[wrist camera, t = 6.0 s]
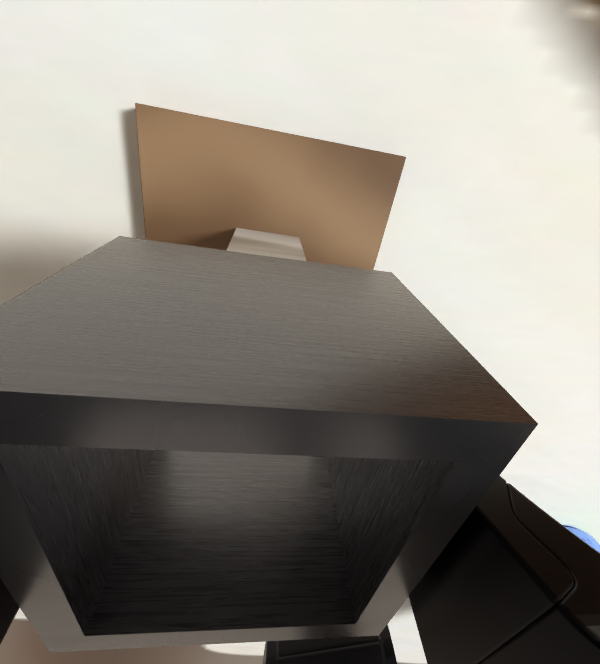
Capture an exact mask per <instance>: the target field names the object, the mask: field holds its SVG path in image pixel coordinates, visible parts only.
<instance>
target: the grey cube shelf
mask: <svg viewBox="0 0 600 664" xmlns="http://www.w3.org/2000/svg"><path fill="white" fill-rule="evenodd" d="M537 425H538V423H537V422H536V421H535V420H534V419H533V418H532V417H531V416H530V415H529V414H528V413H527V412H526V411H525V410H524V409H523V408H522V407H521V406H520V405H519V404H518V403H517V402H516V401H515V399H514V398H513V397H512V396H511V395H510V394H509V393H508V392H507V391H506V390H505V389H504V388H503V387H502V386H501V385H500V384H499V383H498V382H497V381H496V380H495V379H494V378H493V377H492V376H491V375H490V374H489V373H488V372H487V371H486V369H485V368H484V367H483V366H482V365H481V364H480V363H479V362H478V361H477V360H476V359H475V358H474V357H473V356H472V355H471V354H470V353H469V352H468V351H467V350H466V349H465V348H464V347H463V346H462V345H461V344H460V343H459V342H458V341H457V339H456V338H455V337H454V336H453V335H452V334H451V333H450V332H449V331H448V330H447V329H446V328H445V327H444V326H443V325H442V324H441V323H440V322H439V321H438V320H437V319H436V318H435V317H434V316H433V315H432V314H431V313H430V312H429V311H428V309H427V308H426V307H425V306H424V305H423V304H422V303H421V302H420V301H419V300H418V299H417V298H416V297H415V296H414V295H413V294H412V293H411V292H410V291H409V290H408V289H407V288H406V287H405V286H404V285H403V284H402V283H401V282H400V281H399V279H398V278H397V277H396V276H395V275H394V274H393V273H391V272H383V271H376V270H368V269H361V268H354V267H346V266H339V265H331V264H324V263H316V262H309V261H301V260H294V259H286V258H279V257H271V256H264V255H256V254H249V253H241V252H234V251H226V250H219V249H211V248H204V247H197V246H189V245H182V244H174V243H167V242H159V241H152V240H144V239H137V238H129V237H122V236H119V237H117V238H116V239H114V240H112V241H110V242H109V243H107V244H105V245H104V246H102V247H100V248H98V249H97V250H95V251H93V252H92V253H90V254H88V255H87V256H85V257H83V258H81V259H80V260H78V261H76V262H75V263H73V264H71V265H69V266H68V267H66V268H64V269H63V270H61V271H59V272H57V273H56V274H54V275H52V276H51V277H49V278H47V279H46V280H44V281H42V282H40V283H39V284H37V285H35V286H34V287H32V288H30V289H28V290H27V291H25V292H23V293H22V294H20V295H18V296H17V297H15V298H13V299H11V300H10V301H8V302H6V303H5V304H3V305H1V306H0V579H1V580H2V582H3V583H4V585H5V586H6V588H7V589H8V591H9V592H10V593H11V595H12V596H13V598H14V599H15V601H16V602H17V604H18V605H19V607H20V608H21V610H22V611H23V613H24V614H25V616H26V617H27V619H28V620H29V622H30V623H31V625H32V626H33V628H34V629H35V630H36V632H37V634H38V635H39V637H40V638H41V639H42V641H43V643H44V644H45V645H46V647H47V648H48V650H49V652H63V651H85V650H105V649H124V648H144V647H164V646H181V645H182V646H183V645H203V644H222V643H242V642H262V641H281V640H301V639H321V638H340V637H360V636H379V634H380V633H381V632H382V630H383V629H384V628H385V627H386V625H387V624H388V623H389V621H390V620H391V619H392V617H393V616H394V615H395V613H396V612H397V611H398V609H399V608H400V607H401V605H402V604H403V603H404V601H405V600H406V599H407V597H408V596H409V595H410V593H411V592H412V591H413V589H414V588H415V587H416V585H417V584H418V583H419V581H420V580H421V579H422V577H423V576H424V575H425V573H426V572H427V571H428V569H429V568H430V567H431V565H432V564H433V563H434V561H435V560H436V559H437V557H438V556H439V555H440V553H441V552H442V551H443V549H444V548H445V547H446V545H447V544H448V543H449V541H450V540H451V539H452V538H453V536H454V535H455V534H456V532H457V531H458V530H459V528H460V527H461V526H462V524H463V523H464V522H465V520H466V519H467V518H468V516H469V515H470V514H471V512H472V511H473V510H474V508H475V507H476V506H477V504H478V503H479V502H480V500H481V499H482V498H483V496H484V495H485V494H486V492H487V491H488V490H489V488H490V487H491V486H492V484H493V483H494V482H495V480H496V479H497V478H498V476H499V475H500V474H501V472H502V471H503V470H504V468H505V467H506V466H507V464H508V463H509V462H510V460H511V459H512V458H513V456H514V455H515V454H516V452H517V451H518V450H519V448H520V447H521V446H522V445H523V443H524V442H525V441H526V439H527V438H528V437H529V435H530V434H531V433H532V431H533V430H534V429H535V427H536V426H537Z"/></svg>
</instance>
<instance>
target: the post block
mask: <svg viewBox="0 0 600 664" xmlns="http://www.w3.org/2000/svg"><path fill="white" fill-rule="evenodd" d="M135 106H136V119H137V132H138V145H139V158H140V170H141V183H142V196H143V209H144V221H145V234H146V240H152V241H159V242H167V243H174V244H182V245H189V246H197V247H204V248H211V249H219V250H226V251H234V252H241V253H249V254H256V255H264V256H271V257H279V258H286V259H294V260H301V261H309V262H316V263H324V264H331V265H339V266H346V267H354V268H361V269H368V270H373V269H374V266H375V262H376V259H377V255H378V252H379V248H380V245H381V241H382V238H383V235H384V231H385V228H386V224H387V221H388V217H389V214H390V211H391V207H392V204H393V200H394V197H395V193H396V190H397V187H398V183H399V180H400V176H401V173H402V169H403V166H404V163H405V159H406V157H404V156H399V155H394V154H389V153H384V152H379V151H374V150H369V149H364V148H359V147H354V146H349V145H344V144H339V143H334V142H329V141H324V140H319V139H314V138H309V137H303V136H298V135H293V134H288V133H283V132H278V131H273V130H268V129H263V128H258V127H253V126H248V125H243V124H238V123H233V122H228V121H223V120H218V119H213V118H208V117H203V116H198V115H193V114H188V113H183V112H178V111H173V110H168V109H163V108H158V107H153V106H148V105H143V104H138V103H135Z"/></svg>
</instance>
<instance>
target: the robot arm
mask: <svg viewBox="0 0 600 664" xmlns="http://www.w3.org/2000/svg"><path fill="white" fill-rule="evenodd" d="M409 599H410V602H411V606H412V609H413V613H414V617H415V620H416V624H417V627H418V631H419V635H420V638H421V642H422V645H423V649H424V653H425V656H426V660H427V663H428V664H600V553H599V552H598V551H597V550H595V549H594V548H592V547H591V546H590V545H588V544H587V543H586V542H584V541H583V540H581V539H580V538H579V537H577V536H576V535H575V534H573V533H572V532H571V531H569V530H568V529H567V528H565V527H564V526H563V525H561V524H560V523H559V522H557V521H556V520H555V519H553V518H552V517H551V516H549V515H548V514H547V513H546V512H544V511H543V510H542V509H541V508H539V507H538V506H537V505H535V504H534V503H533V502H532V501H530V500H529V499H528V498H527V497H525V496H524V495H523V494H522V493H520V492H519V491H518V490H517V489H516V488H514V487H513V486H512V485H511V484H509V483H506V481H505V480H504V479H503V478H502V477H501V476H498V478H497V479H496V480H495V482H494V483H493V484H492V486H491V487H490V488H489V490H488V491H487V492H486V494H485V495H484V496H483V498H482V499H481V500H480V502H479V503H478V504H477V506H476V507H475V508H474V510H473V511H472V512H471V514H470V515H469V516H468V518H467V519H466V520H465V522H464V523H463V524H462V526H461V527H460V528H459V530H458V531H457V532H456V534H455V535H454V536H453V538H452V539H451V540H450V541H449V543H448V544H447V545H446V547H445V548H444V549H443V551H442V552H441V553H440V555H439V556H438V557H437V559H436V560H435V561H434V563H433V564H432V565H431V567H430V568H429V569H428V571H427V572H426V573H425V575H424V576H423V577H422V579H421V580H420V581H419V583H418V584H417V585H416V587H415V588H414V589H413V591H412V592H411V593H410V595H409ZM19 608H20V607H19V605H18V604H17V602H16V601H15V599H14V598H13V596H12V595H11V593H10V592H9V591H8V589H7V588H6V586H5V585H4V583H3V582H2V580H1V579H0V644H1V642H2V640H3V638H4V636H5V635H6V633H7V631H8V629H9V627H10V625H11V623H12V621H13V619H14V617H15V615H16V614H17V612H18V610H19ZM263 664H397V662H396V657H395V653H394V648H393V644H392V640H391V636H390V632H389V628H388V625H386V627H385V628H384V629H383V630H382V632H381V633H380V634H379V636H360V637H340V638H321V639H301V640H281V641H266V644H265V650H264V657H263Z"/></svg>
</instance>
